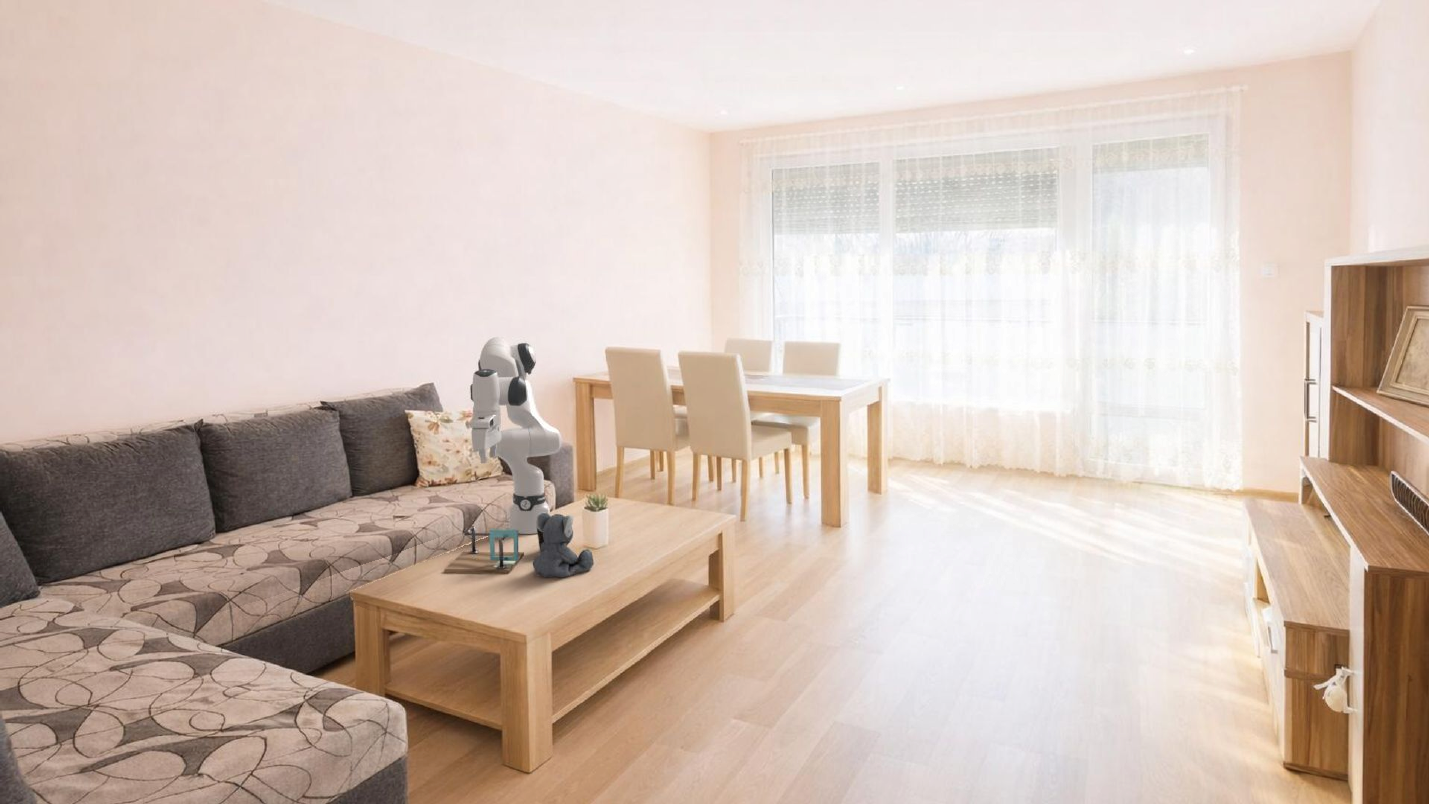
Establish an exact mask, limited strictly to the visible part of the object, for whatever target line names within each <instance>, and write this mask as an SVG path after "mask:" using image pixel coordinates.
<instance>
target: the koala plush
mask: <svg viewBox="0 0 1429 804" xmlns="http://www.w3.org/2000/svg"><path fill="white" fill-rule="evenodd" d="M536 517H537V519H536V527H537V529H539V530H540V531H541V532H543V538H544V542H543V543H542V544H541V547H540V548H539V553H538V555H537V556H535V557H534V559H533V561H532V567H533V569H534V572H535V575H536V576H539V577H541V578H548V579H549V578H552V577H555V578H559V579H560V578H565V577H571V576H572V575H573V574H580V573H581V574H582V573H584V572H585V573H586V572H587V571H589V570H590V569H592V568H593V566H594V565H595V563H594V557H593V551H592V550H591V549H588V548H586V549H583V550H581V552H579V555H577V553H575V552H574V551H573V550H572V549H571V548H570V547H569V546H568V545H569V544H570V543H571V541H572V539H573V537H574V529H573V523H574V515H571V514H570V515H566V516H565V515H564V514H561V513H555V514H553V515H551V514H550V515H549V514H548V513H545V512H541V513H539V514H538V515H537V516H536Z"/></svg>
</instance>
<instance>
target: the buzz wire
mask: <svg viewBox="0 0 1429 804" xmlns="http://www.w3.org/2000/svg"><path fill="white" fill-rule="evenodd" d="M463 535H464V536H471V550H469V551H468V552H469V553H470V554H476V553H478V552H480V551H479V550H477V549H476V546H477V545H476V536H481V537H483V536H484V537H486V536H488V537H490V532H488V533H486V532H483V533H482V532H476V526H475V525H471V526H470V527H469V529H467V531H466V532H464V534H463ZM505 539H506V538H500V539H499V540H498V552H499V560H500V565H499V566H497V569H505V568H506V565H503V552H504V542H503V541H504V540H505Z"/></svg>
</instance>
